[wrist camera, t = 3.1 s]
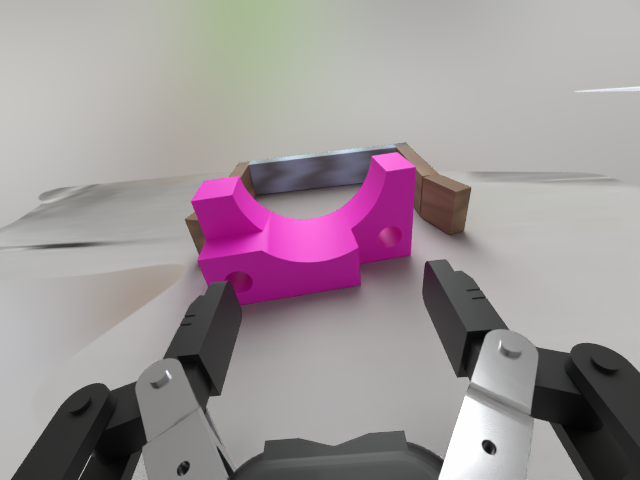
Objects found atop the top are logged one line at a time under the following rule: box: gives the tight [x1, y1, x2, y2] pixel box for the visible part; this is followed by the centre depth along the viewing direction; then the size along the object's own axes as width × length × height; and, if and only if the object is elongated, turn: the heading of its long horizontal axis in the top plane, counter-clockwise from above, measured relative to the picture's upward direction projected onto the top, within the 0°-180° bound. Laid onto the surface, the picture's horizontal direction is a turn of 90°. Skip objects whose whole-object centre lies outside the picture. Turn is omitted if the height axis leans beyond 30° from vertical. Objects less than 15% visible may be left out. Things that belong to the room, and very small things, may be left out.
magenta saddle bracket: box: [191, 152, 416, 305], centre depth 22 cm, size 15×6×8 cm, turn 97°
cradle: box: [185, 143, 471, 255], centre depth 31 cm, size 24×16×4 cm, turn 91°
